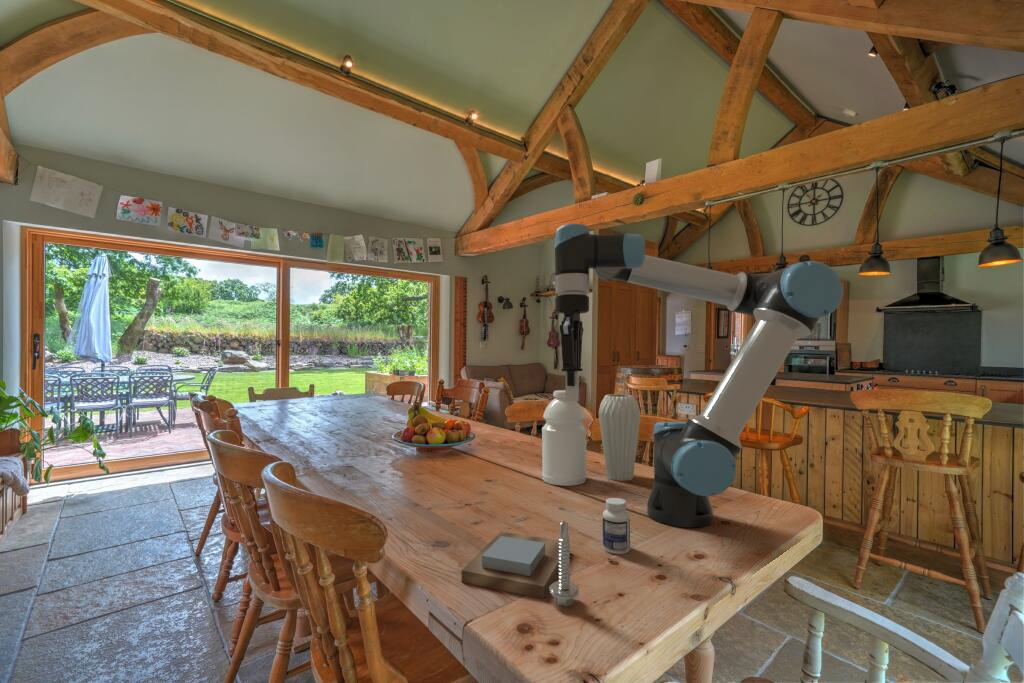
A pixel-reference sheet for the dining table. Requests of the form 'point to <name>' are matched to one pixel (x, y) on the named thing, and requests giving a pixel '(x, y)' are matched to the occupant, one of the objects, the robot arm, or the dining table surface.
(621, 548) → the pill bottle
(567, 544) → the screw
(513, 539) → the tile
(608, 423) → the vase
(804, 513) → the dining table surface
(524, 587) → the board
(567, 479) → the bottle
